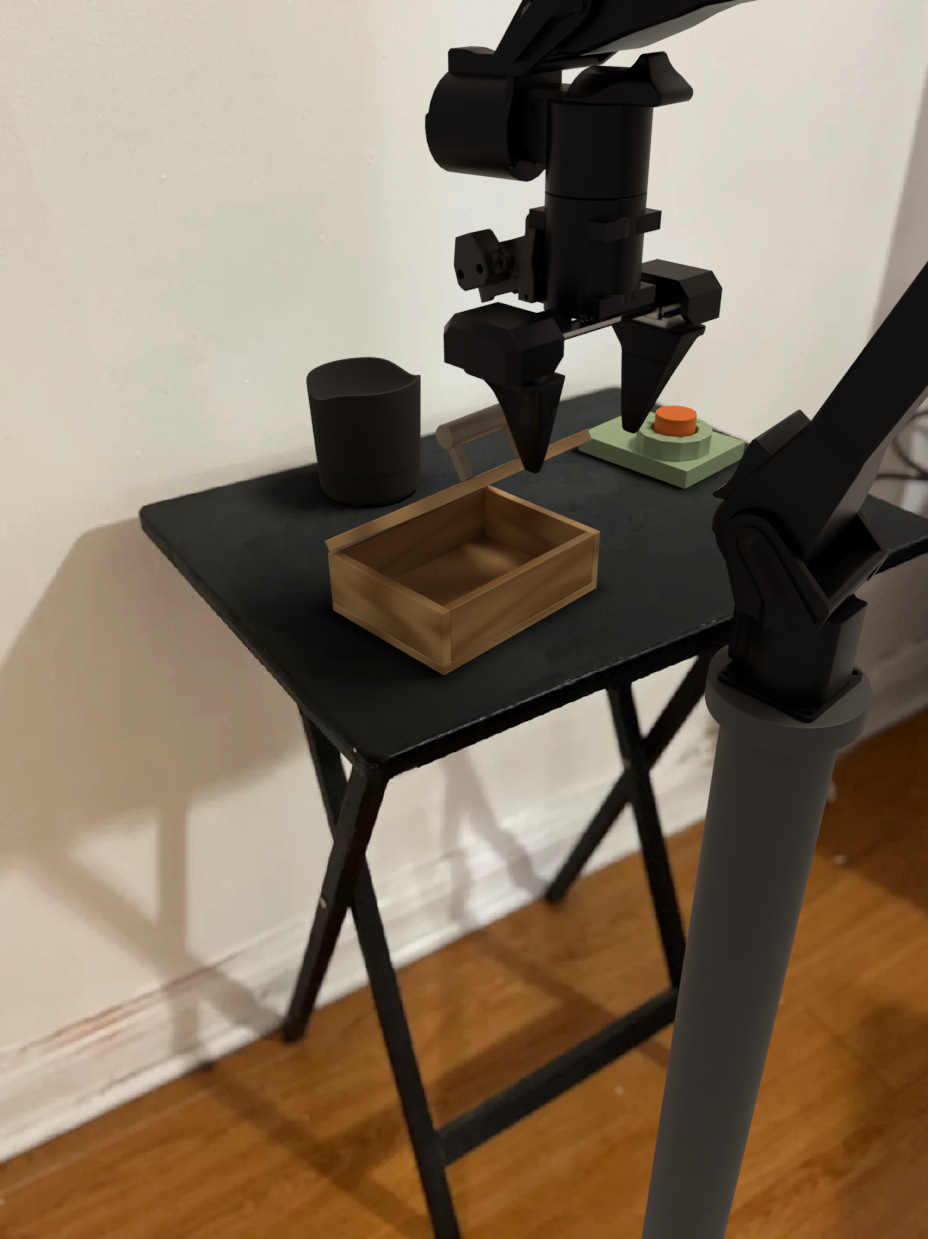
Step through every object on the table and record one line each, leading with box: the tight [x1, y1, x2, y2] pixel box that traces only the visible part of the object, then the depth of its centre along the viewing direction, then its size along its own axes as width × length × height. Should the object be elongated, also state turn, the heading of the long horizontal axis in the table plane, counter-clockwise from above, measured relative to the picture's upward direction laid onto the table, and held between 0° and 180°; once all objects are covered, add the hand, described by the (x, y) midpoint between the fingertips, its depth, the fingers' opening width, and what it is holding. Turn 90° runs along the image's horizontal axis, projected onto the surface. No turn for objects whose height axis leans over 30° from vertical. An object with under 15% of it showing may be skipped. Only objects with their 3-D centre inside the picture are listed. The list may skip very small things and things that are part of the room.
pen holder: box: [305, 356, 422, 507], centre depth 89 cm, size 9×9×10 cm
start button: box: [654, 405, 698, 437], centre depth 92 cm, size 4×4×2 cm
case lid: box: [324, 402, 592, 552], centre depth 71 cm, size 12×15×5 cm
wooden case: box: [327, 484, 601, 676], centre depth 74 cm, size 11×15×5 cm
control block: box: [578, 411, 746, 490], centre depth 95 cm, size 12×9×4 cm
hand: (582, 450), depth 67 cm, fingers open, 9 cm apart
